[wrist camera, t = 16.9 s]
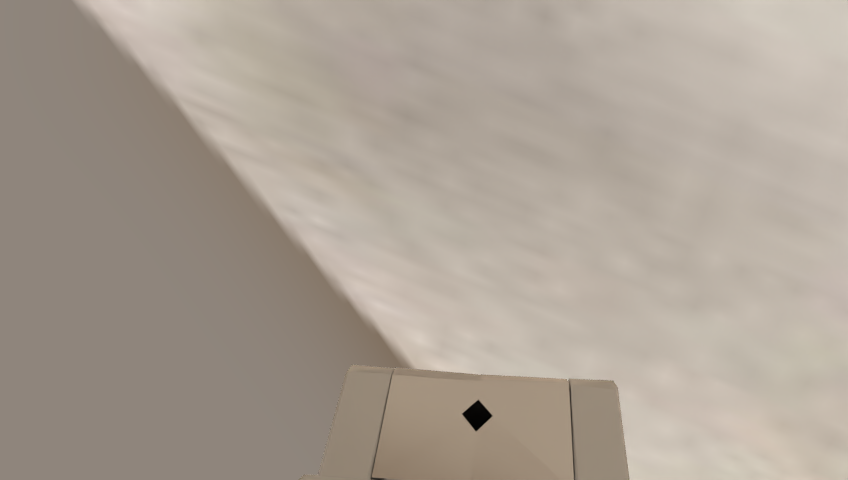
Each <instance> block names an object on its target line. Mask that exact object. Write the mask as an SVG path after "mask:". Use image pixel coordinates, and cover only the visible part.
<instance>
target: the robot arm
mask: <svg viewBox="0 0 848 480" xmlns="http://www.w3.org/2000/svg"><path fill="white" fill-rule="evenodd" d="M299 480H629V472H628V464H627V457H626V449H625V441H624V433H623V425H622V418H621V410H620V402H619V394H618V387H617V386H616V384H615V383H614V381H606V380H585V379H569V380H567V379H556V378H538V377H519V376H501V375H482V374H481V375H478V374H466V373H454V372H443V371H431V370H419V369H408V368H395V369H393V368H384V367H372V366H362V365H351V367H350V368H349V370H348V371H347V373H346V375H345V378H344V382H343V385H342V389H341V393H340V396H339V400H338V404H337V407H336V411H335V415H334V418H333V422H332V425H331V429H330V433H329V436H328V440H327V444H326V447H325V451H324V454H323V458H322V462H321V465H320V469H319V472H318V475H303V476H302V477H301V478H300V479H299Z"/></svg>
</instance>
